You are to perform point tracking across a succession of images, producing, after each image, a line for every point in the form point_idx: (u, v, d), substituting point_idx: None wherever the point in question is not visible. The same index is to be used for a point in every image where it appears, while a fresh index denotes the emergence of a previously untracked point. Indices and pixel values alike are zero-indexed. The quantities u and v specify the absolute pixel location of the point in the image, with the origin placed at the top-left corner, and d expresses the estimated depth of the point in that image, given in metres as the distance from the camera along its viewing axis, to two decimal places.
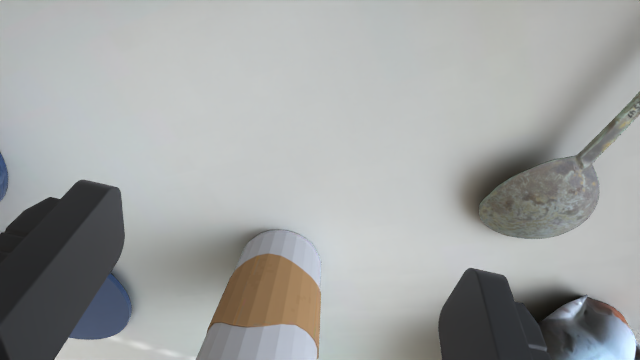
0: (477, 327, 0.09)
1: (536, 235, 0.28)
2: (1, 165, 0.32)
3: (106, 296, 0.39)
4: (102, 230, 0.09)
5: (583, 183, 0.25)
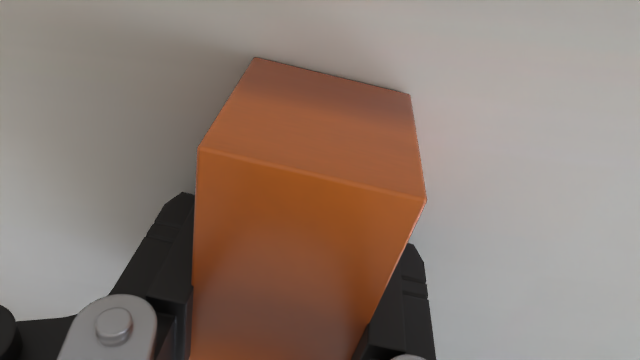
0: None
1: None
2: None
3: None
4: None
5: None
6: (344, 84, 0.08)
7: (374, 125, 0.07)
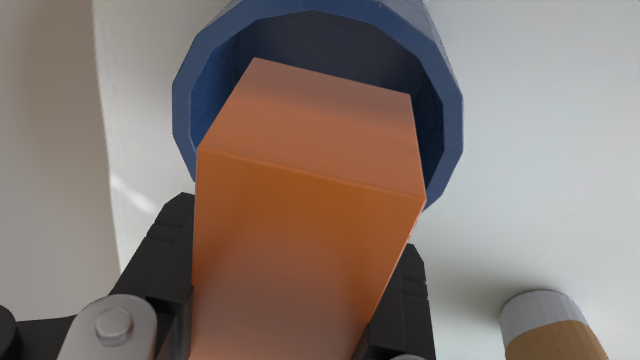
0: None
1: None
2: None
3: None
4: None
5: None
6: (344, 83, 0.08)
7: (374, 125, 0.07)
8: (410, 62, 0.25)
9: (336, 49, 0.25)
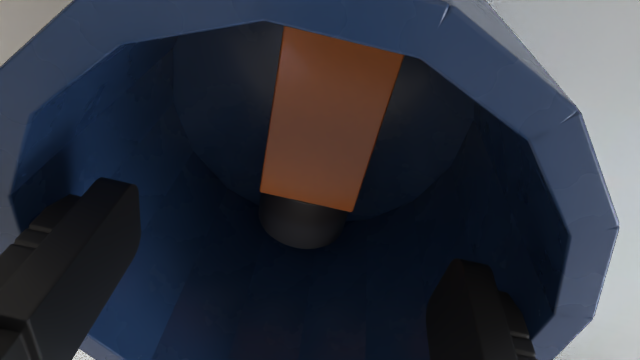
0: (461, 316, 0.09)
1: None
2: None
3: None
4: (121, 226, 0.09)
5: None
6: None
7: None
8: (451, 101, 0.15)
9: None
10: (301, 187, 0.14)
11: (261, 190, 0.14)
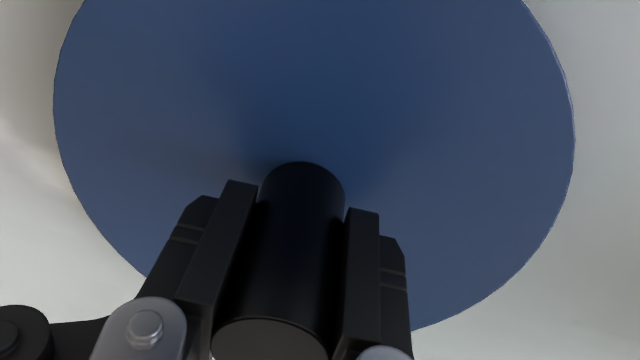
0: (343, 255, 0.09)
1: None
2: None
3: (458, 263, 0.13)
4: (248, 224, 0.10)
5: None
6: None
7: None
8: None
9: None
10: None
11: None
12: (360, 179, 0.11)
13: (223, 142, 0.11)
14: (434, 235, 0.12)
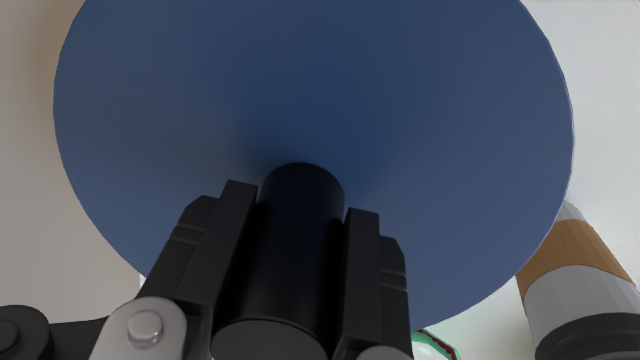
0: (343, 256, 0.09)
1: None
2: None
3: (457, 263, 0.13)
4: (247, 224, 0.10)
5: None
6: None
7: None
8: None
9: None
10: None
11: None
12: (360, 180, 0.11)
13: (223, 143, 0.11)
14: (434, 236, 0.12)
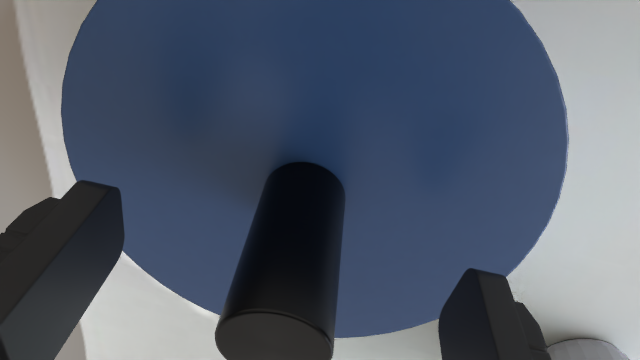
0: (477, 328, 0.09)
1: None
2: None
3: (456, 260, 0.13)
4: (102, 230, 0.09)
5: None
6: None
7: None
8: None
9: None
10: None
11: None
12: (360, 178, 0.12)
13: (227, 143, 0.11)
14: (432, 234, 0.12)
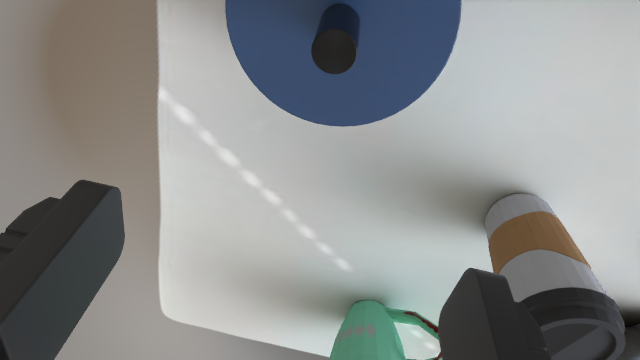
0: (477, 328, 0.09)
1: None
2: None
3: (414, 63, 0.26)
4: (102, 230, 0.09)
5: None
6: None
7: None
8: None
9: None
10: None
11: None
12: (367, 12, 0.24)
13: None
14: (402, 45, 0.25)
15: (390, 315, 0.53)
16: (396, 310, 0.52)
